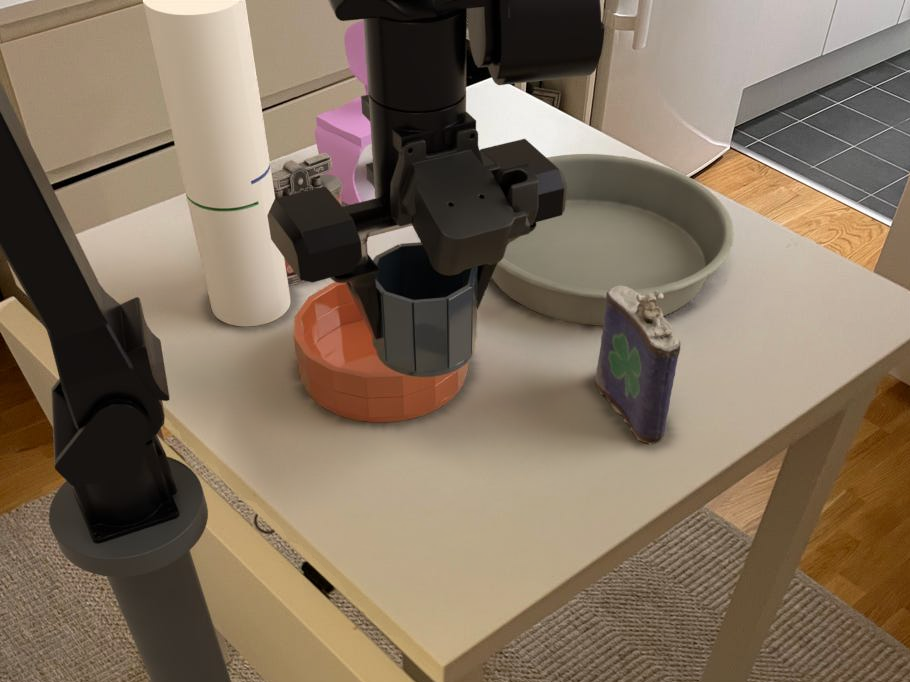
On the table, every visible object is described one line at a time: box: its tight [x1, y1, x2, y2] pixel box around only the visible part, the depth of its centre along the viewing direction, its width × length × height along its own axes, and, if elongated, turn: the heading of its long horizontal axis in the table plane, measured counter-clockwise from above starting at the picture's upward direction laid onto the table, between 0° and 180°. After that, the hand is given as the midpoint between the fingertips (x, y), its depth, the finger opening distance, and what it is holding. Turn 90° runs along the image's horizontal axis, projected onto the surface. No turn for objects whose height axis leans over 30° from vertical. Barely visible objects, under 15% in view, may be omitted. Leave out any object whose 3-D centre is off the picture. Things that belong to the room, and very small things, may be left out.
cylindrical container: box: [142, 0, 291, 327], centre depth 81 cm, size 7×7×25 cm
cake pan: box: [491, 153, 735, 326], centre depth 94 cm, size 25×25×4 cm
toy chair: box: [314, 19, 372, 205], centre depth 97 cm, size 8×9×15 cm
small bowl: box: [372, 241, 478, 377], centre depth 69 cm, size 7×8×6 cm
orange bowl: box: [293, 281, 469, 423], centre depth 83 cm, size 14×14×4 cm
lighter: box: [271, 153, 343, 286], centre depth 90 cm, size 8×3×10 cm, turn 130°
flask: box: [594, 286, 681, 446], centre depth 78 cm, size 9×3×11 cm, turn 24°
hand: (424, 322), depth 70 cm, fingers closed on small bowl, 7 cm apart
